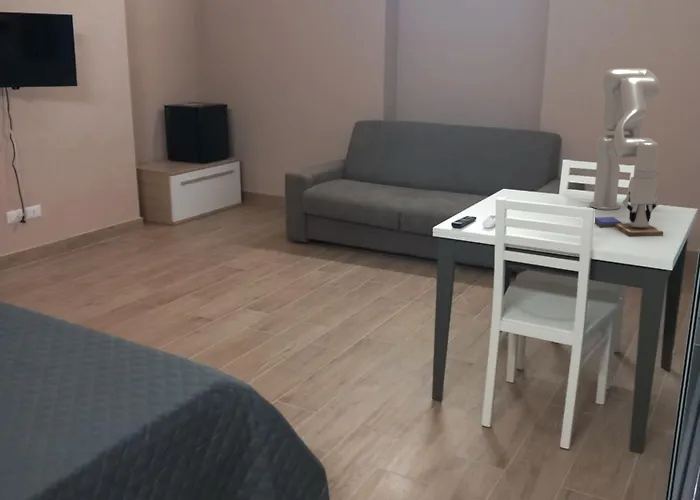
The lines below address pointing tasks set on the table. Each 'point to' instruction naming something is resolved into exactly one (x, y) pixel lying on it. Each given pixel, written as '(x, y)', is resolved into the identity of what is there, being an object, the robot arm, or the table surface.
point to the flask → (640, 217)
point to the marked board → (638, 230)
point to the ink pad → (606, 222)
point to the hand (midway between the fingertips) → (639, 221)
